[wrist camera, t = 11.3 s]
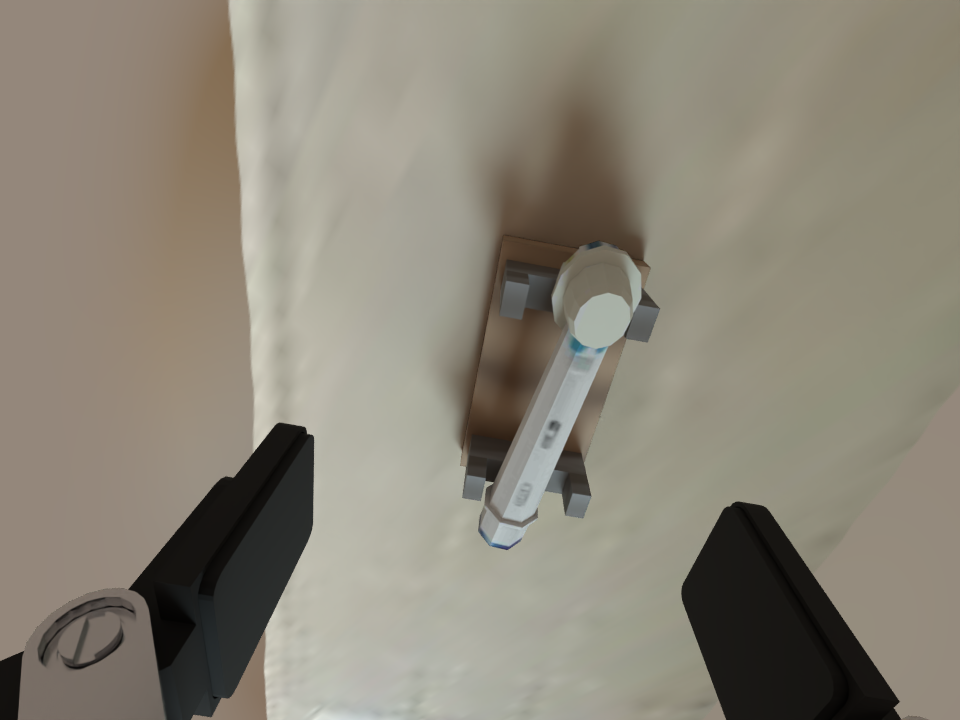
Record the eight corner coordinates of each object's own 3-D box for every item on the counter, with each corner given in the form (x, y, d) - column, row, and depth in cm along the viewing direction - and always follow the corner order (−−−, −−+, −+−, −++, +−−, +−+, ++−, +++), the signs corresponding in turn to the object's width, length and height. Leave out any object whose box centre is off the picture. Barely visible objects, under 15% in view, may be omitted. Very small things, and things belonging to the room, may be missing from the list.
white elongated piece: (467, 544, 38) (580, 267, 24) (475, 481, 43) (571, 225, 30) (528, 558, 38) (675, 294, 24) (529, 494, 44) (648, 248, 30)
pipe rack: (503, 234, 36) (502, 259, 29) (643, 260, 36) (674, 291, 29) (462, 452, 45) (453, 508, 38) (573, 471, 45) (584, 530, 39)
